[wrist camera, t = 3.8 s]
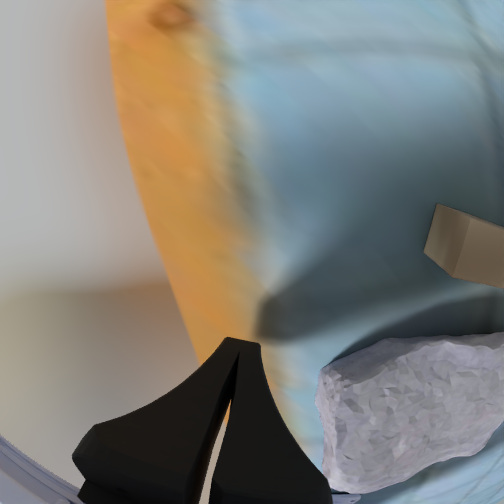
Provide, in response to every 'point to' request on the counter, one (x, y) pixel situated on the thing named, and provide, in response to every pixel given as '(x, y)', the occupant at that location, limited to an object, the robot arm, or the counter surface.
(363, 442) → the stone block
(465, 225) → the fence
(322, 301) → the counter surface
